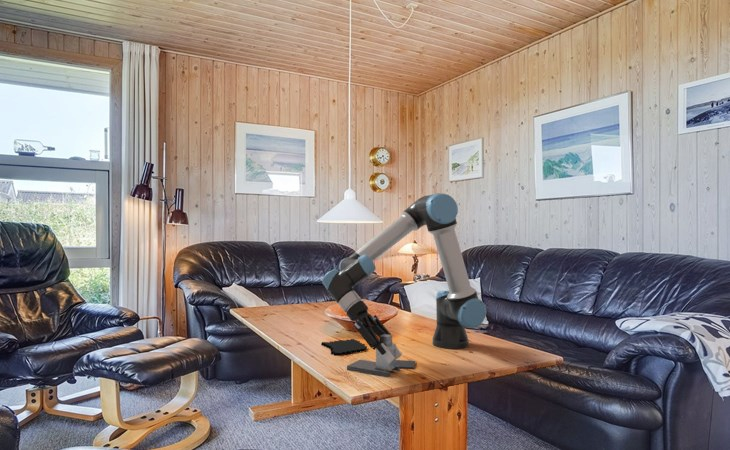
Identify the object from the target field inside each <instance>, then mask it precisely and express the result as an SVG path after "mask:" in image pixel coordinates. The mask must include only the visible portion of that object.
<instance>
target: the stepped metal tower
mask: <svg viewBox="0 0 730 450" xmlns="http://www.w3.org/2000/svg"><path fill="white" fill-rule="evenodd" d="M378 339H379V341H380V343H381V344H382V343H383V344H384V345H385V346H386V348H387V349H388V350H389V351H390V353H391V354H392V355H393V356H394V358H395V359H394V360H393V361H392V362H391V363H390V364H389V363H388V362H387V361H386V359H385V358H384V357H383V356H382V354H381V353H380V352H379V351H378V349H377V348H376V349H375V362H376V369H380V370H382V371H388V372H391V371H392V370H391V369H393V368H395V367H396V360H397V359H396V347H397V345H396V342H395V343H394V342H393V335H392V334H391V335H387V334H383V335H381V336H379V338H378ZM392 342H393V343H392Z"/></svg>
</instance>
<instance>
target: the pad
mask: <svg viewBox="0 0 730 450" xmlns="http://www.w3.org/2000/svg"><path fill="white" fill-rule="evenodd" d="M396 365H397V366H400V369H404V370H405V369H406V370H407V369H408V370H414V369H415V367H416V360H405V359H401V360H400V359H396Z"/></svg>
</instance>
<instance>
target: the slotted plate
mask: <svg viewBox="0 0 730 450" xmlns="http://www.w3.org/2000/svg"><path fill="white" fill-rule="evenodd" d="M346 370H347V371H352V372H358V373H363V374H369V375H374V376H378V377H386V378H389V377H391V371H396V372H399V371H401V368H400V366H397V365H396V367H395V368H393V369H391V370H390V371H387V370H381V369H376V361H372V360H367V359H359V360H356V361H354V362H352V363H350V364H348V365H346Z"/></svg>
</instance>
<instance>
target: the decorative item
mask: <svg viewBox="0 0 730 450" xmlns="http://www.w3.org/2000/svg"><path fill="white" fill-rule="evenodd" d="M321 346H323V347H324V348H325V347H326V348H327V349H328V350H329V351H330V355H333V356H337V357H338V356H340V357H341V356H347V355H351V354H356V353H361V352H366V351H367V350H368V346H367V345H365V343H362V342H361V340H357V339H354V338H351V339H343V340H341V339H339V340H334V341H322V342H321Z"/></svg>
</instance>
